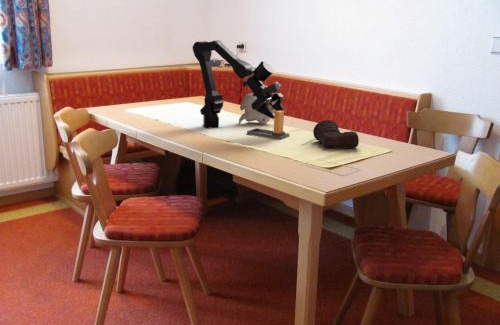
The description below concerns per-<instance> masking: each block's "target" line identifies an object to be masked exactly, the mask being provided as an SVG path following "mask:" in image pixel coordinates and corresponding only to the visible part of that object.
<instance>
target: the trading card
mask: <svg viewBox="0 0 500 325" xmlns="http://www.w3.org/2000/svg"><path fill="white" fill-rule="evenodd" d="M307 162H308V161H306V162H304V163H300V165H301V166H305V167H309V168H313V169H316V170H320V171H323V172H327V173H331V174H335V175H338V176H341V177H345V176H348V175H351V174H354V173H356V172H358V171H361V168H356V167H353V166H350V165H346V164H342V166H344V167H347V168H348V167H349V168H352V169H355V170H354V171H351V172H349V173H346V174H341V173H337V172H333V171H329V170H326V169H323V168H322V169H321V168H318V167H315V166H310V165H307V164H308V163H307Z"/></svg>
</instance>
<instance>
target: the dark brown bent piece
mask: <svg viewBox="0 0 500 325" xmlns="http://www.w3.org/2000/svg"><path fill="white" fill-rule="evenodd" d="M312 134H313V137H314V138H315V140H317V141H319V142H320V143H321V144H322V145H323V147H325V148H328V149H329V148H331V149H333V148H343V149H344V148H345V149H354V148H355V149H356V148H357V147H358V146H359V144H360V139H359V134H358V133H357V131H344V132H341V130H340V129H339V125H338V124H337V122H336V121H334V120H331V119H326V120H324V119H323V120H321V121H319V122H318V123H317V124H315V126H314V127H313V131H312Z"/></svg>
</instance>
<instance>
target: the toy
mask: <svg viewBox="0 0 500 325" xmlns="http://www.w3.org/2000/svg"><path fill="white" fill-rule="evenodd" d="M256 99H257V98H256V96H255V97H253V92H250V93H246V94H244V95H243V98H242V103H241V104H240V107H239V108H240V111H243V110H244V113H243V114H242V115H241V116H240V117H239V119H238V125H240V124H241V122H243V120H245V121H246V122H249V123H250V122H254V121H257V122H258V124H259V125H266V124H268V123H269V122H270V120H271V119H272V118H270V117H268V116H266V115H264V114H262V113H260V112H258V111H256V110H253V109H252V108H251V104H252V103H253V102H254V101H255V100H256ZM268 107H269V108H270V110H271V112H272V113H273V114H274V112H275V111H276V110H275V109H273V108H272V106H271V105H270V104H269V105H268Z"/></svg>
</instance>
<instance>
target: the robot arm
mask: <svg viewBox="0 0 500 325" xmlns="http://www.w3.org/2000/svg"><path fill="white" fill-rule="evenodd" d="M213 51H215V52H216V53H217V54H218V55H219V56H220V57H221V58H222V59H224V60H225V62H226V63H228V64H229V65H230V67H232V70H233V72H234V74H235V75H236V76H237V77H238V78H239V79H246V80H243V81H242V88H246V87H248V89H249V90H250V91H251V93H253V97H255V96H256V98H257V99H256V100H255V101H254V102H253V103H252V104H251V108H252V109H253V110H256V111H258V112H260V113H262V114H264V115H266V116H268V117H270V118H271V119H272V120H274V118H275V117H274V113H272V112H271V110H270V108H269V106H270V105H271V106H272V108H273V109H275V111H279V110H280V111H284V116H286V113H285V112H286V111H285V110H284V109H285V108H284V106H283V100H284V95H283V94H282V93H281V92H280V91H282V90H281V89H282V85H281V84H280V83H279V82H278V81H275V82H273V83H272V84H270V85H269V86H268V85H264V83H263V82H266V81H267V80H268V79H269V78H270V77H271V76H272V75H273V74H274V72H275V69H274V68H273V66H272V65H270V64H269V63H268V62H266V60H262V61H260V62H259V64H258V66H257V67H254V66H253V65H252V64H251V63H249V62H247V61H246V60H243V59H241V58H240V57H239V56H237V55H236V54H234V53H233V51H232V50H231V49H229V48H228V47H227V46H226V45H225V44H224V43H223V41H221V40H211V41H206V40H205V41H195V42H194V43H193V45H192V52H193V55H194V57H195V58H196V60H197V61H198V62H199V66H200V67H199V68H200V71H201V72H200V73H201V75H202V79H203V80H202V82H203V85H204V90H205V96H204V100H203V101H204V105H203V106H202V107H201V108H200V109H199V110H200V111H199V112H200V114H201V115H202V117H203V118H202V120H203V121H202V122H203V124H202V126H203V127H204V129H214V128H215V129H216V128H217V129H218V128H219V126H220V117H219V114H220V113H221V110H222V109H223V107H224V103H225V102H224V98H223V94H222V93H220V94H219V92H218V91H217V87H216V83H215V77H214V73H213V69H212V63H211V58H212V54H213V53H212V52H213ZM219 129H220V128H219Z"/></svg>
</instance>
